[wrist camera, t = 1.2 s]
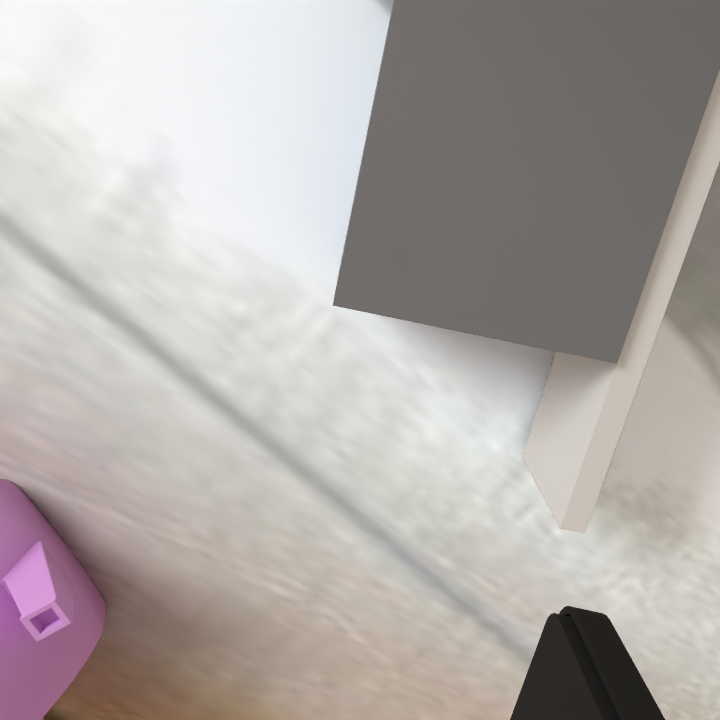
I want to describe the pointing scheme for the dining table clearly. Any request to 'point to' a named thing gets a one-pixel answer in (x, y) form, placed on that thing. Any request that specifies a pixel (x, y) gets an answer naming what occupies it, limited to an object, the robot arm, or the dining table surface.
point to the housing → (526, 164)
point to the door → (610, 380)
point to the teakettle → (40, 610)
